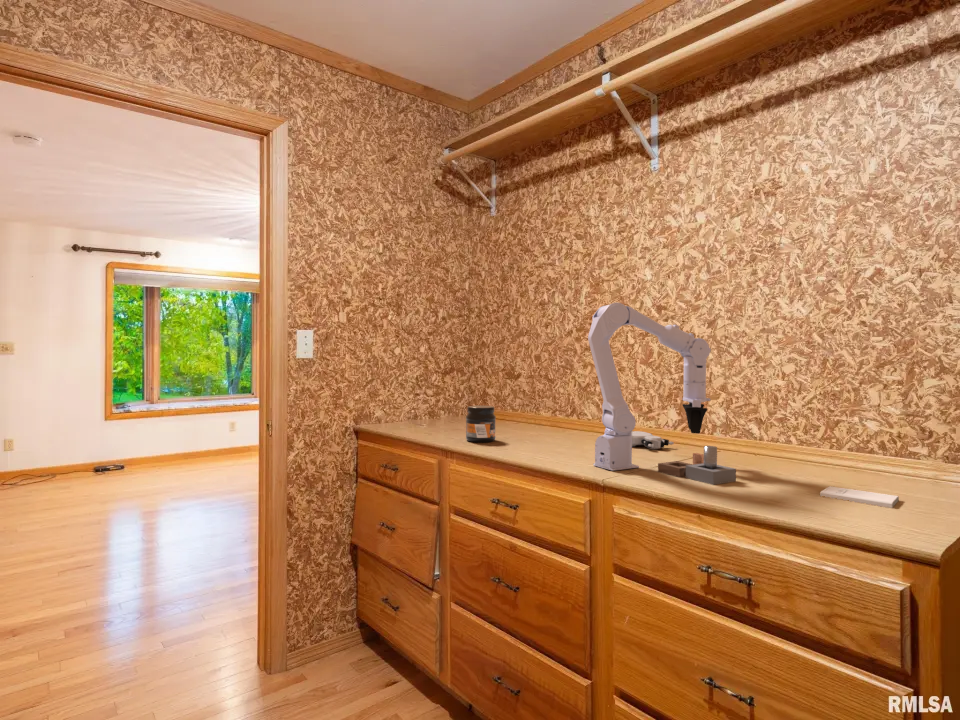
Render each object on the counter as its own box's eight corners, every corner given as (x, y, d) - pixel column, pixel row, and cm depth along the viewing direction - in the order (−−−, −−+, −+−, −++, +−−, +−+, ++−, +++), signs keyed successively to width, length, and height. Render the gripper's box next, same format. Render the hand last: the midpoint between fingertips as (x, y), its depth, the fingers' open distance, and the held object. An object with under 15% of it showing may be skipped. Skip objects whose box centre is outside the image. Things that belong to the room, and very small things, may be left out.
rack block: (713, 484, 124) (713, 471, 124) (685, 477, 131) (685, 465, 131) (735, 481, 128) (735, 468, 128) (707, 474, 135) (707, 462, 135)
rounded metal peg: (710, 481, 128) (710, 448, 128) (700, 478, 130) (701, 446, 130) (719, 480, 129) (719, 447, 129) (709, 477, 132) (710, 445, 132)
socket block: (679, 477, 132) (679, 468, 132) (658, 471, 138) (658, 463, 138) (699, 474, 135) (699, 465, 135) (677, 469, 141) (677, 460, 141)
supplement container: (481, 444, 179) (481, 408, 179) (459, 440, 187) (459, 406, 187) (501, 440, 187) (502, 406, 187) (480, 437, 194) (480, 404, 194)
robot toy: (675, 451, 173) (640, 441, 186) (676, 438, 173) (641, 429, 185) (650, 455, 166) (614, 444, 179) (650, 441, 166) (615, 431, 179)
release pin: (688, 472, 136) (688, 456, 136) (679, 470, 139) (679, 454, 139) (705, 469, 139) (705, 454, 139) (696, 467, 142) (696, 452, 142)
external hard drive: (892, 511, 106) (820, 498, 115) (898, 503, 112) (829, 492, 121) (892, 503, 106) (820, 491, 115) (898, 495, 112) (829, 484, 121)
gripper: (713, 383, 138) (713, 435, 138) (707, 381, 152) (707, 428, 152) (684, 382, 140) (684, 434, 140) (681, 380, 154) (680, 427, 154)
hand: (694, 431), depth 146 cm, fingers open, 7 cm apart
